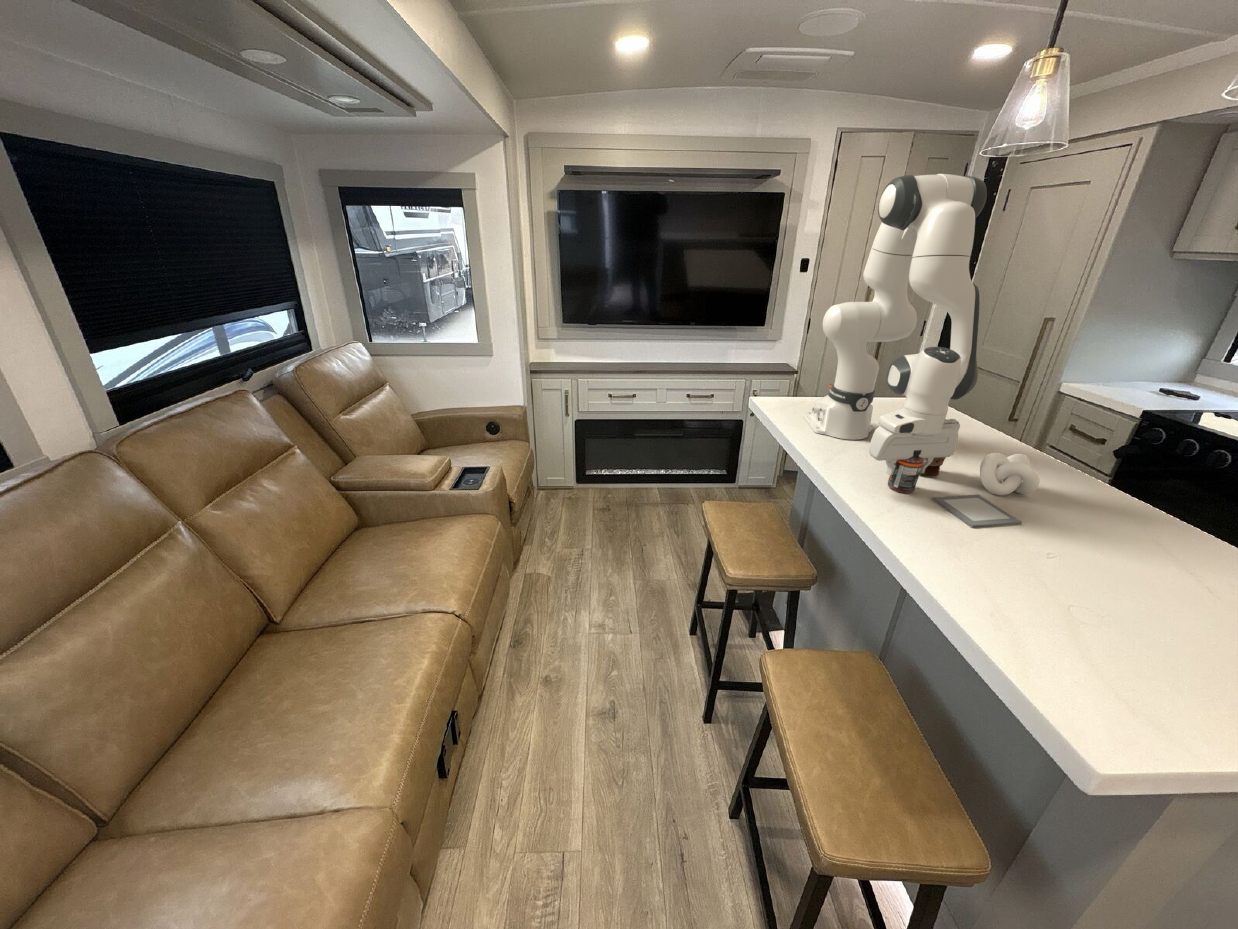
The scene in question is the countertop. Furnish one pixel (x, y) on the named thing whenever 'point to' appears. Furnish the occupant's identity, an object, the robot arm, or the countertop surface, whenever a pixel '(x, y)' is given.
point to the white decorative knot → (1008, 474)
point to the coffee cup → (933, 467)
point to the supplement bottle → (906, 473)
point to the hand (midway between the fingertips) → (904, 473)
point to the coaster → (976, 511)
